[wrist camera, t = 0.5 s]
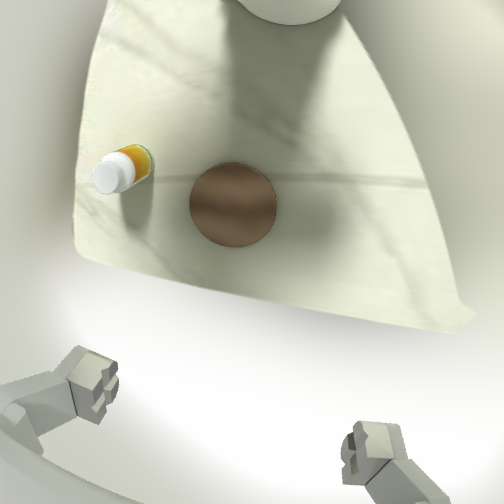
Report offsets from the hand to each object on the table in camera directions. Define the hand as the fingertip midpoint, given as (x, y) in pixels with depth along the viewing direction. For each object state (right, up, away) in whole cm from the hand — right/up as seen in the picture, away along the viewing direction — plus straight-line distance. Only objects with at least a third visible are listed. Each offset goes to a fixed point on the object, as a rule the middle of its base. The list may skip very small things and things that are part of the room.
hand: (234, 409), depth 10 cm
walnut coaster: (-2, +11, +35) cm, 37 cm away
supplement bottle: (-16, +18, +34) cm, 42 cm away
